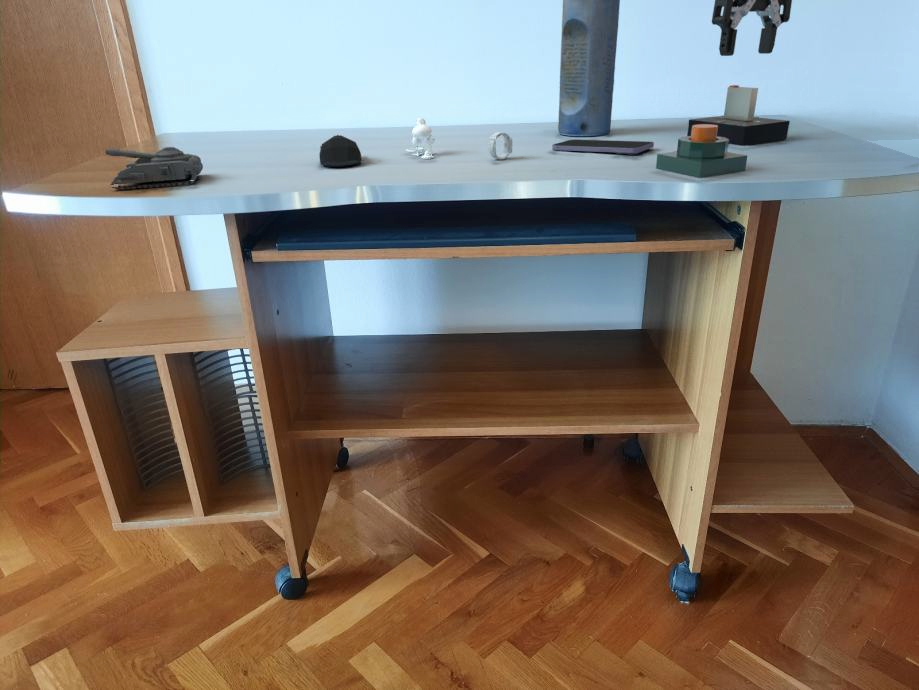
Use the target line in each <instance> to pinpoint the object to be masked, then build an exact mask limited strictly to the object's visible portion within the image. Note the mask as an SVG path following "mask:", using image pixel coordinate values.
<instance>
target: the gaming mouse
mask: <svg viewBox="0 0 919 690" xmlns="http://www.w3.org/2000/svg"><path fill="white" fill-rule="evenodd" d="M319 149H320V150H319V154H318V155H319V164H320V165H321V166H323V167H332V168H333V167H334V168H335V167H336V168H341V167H348V166H354V165H358V164H360V163H361V162H362V153H361V150H360V148H359V145H358V144H357V142H356V141H355V140H352V139H351V138H347V137H346V136H344V135H342V134H341V135H340V134H336V135H333V136H332V137H330V138H329V139H327V140H326V141H324V142H323V143H321V145H320V146H319Z"/></svg>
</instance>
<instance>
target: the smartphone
mask: <svg viewBox="0 0 919 690" xmlns="http://www.w3.org/2000/svg"><path fill="white" fill-rule="evenodd" d="M654 146H655V142H654V141H643V140H642V141H640V140H638V141H637V140H607V139H605V140H603V139H602V140H601V139H567V140H564V141H561V142H558V143H554V144H552V145H551V147H552V148H551V149H552V150H553V151H567V152H572V151H573V152H594V153H595V152H596V153H615V154H616V155H621V156H622V155H623V156H624V155H628V156H636V155H638V154H640V153H643V152H645V151H647V150H650V149H653V148H654Z"/></svg>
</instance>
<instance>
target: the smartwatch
mask: <svg viewBox="0 0 919 690" xmlns="http://www.w3.org/2000/svg"><path fill="white" fill-rule="evenodd" d="M500 136H502V152H503V153H502V154H501V155H500V156H498V155H497V149H496V147H497V146H496V142H497V139H498V138H499V137H500ZM487 150H488V153H489V155H490V156H491V158H493V159H495V160H500V161H501V160H505V159H507V158H508V157H509V155H511V154H512V153H513V137H511V136H510V135H509V134H508V133H506V132H502V131H495V132H494V133H492V134H491V136H490V137H489V139H488V144H487Z"/></svg>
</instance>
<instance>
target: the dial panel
mask: <svg viewBox="0 0 919 690" xmlns="http://www.w3.org/2000/svg"><path fill="white" fill-rule="evenodd" d="M790 122H791V121H790V120H788V119H787V120H786V119H776V118H769V117H768V118H767V117H760V116H754V119H753V121H739V120H730V119H724V115H716V116H709V117H699V118H692V119H688V126H687V134H686V137H687V136H691V131H692V126H693V125H698V124H711V125H717V126H718V132H717V136H718V137H725V138H727V139H729V144H728V145H733V146H740V147H745V146H753V145H760V144H767V143H775V142H780V141H781V142H782V141H787V138H788V135H789V134H788V133H789V127H790Z"/></svg>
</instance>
